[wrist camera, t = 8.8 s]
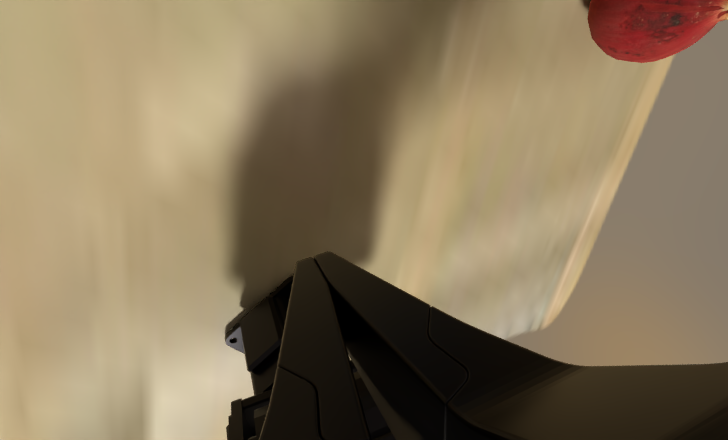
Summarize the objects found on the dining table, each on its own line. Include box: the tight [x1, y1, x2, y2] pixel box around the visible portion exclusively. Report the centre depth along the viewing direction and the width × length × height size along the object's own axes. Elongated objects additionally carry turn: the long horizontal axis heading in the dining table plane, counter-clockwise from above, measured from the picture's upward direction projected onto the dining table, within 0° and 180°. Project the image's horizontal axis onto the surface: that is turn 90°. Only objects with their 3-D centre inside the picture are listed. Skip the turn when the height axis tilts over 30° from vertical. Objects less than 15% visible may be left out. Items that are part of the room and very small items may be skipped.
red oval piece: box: [588, 0, 728, 63], centre depth 21 cm, size 6×6×8 cm
